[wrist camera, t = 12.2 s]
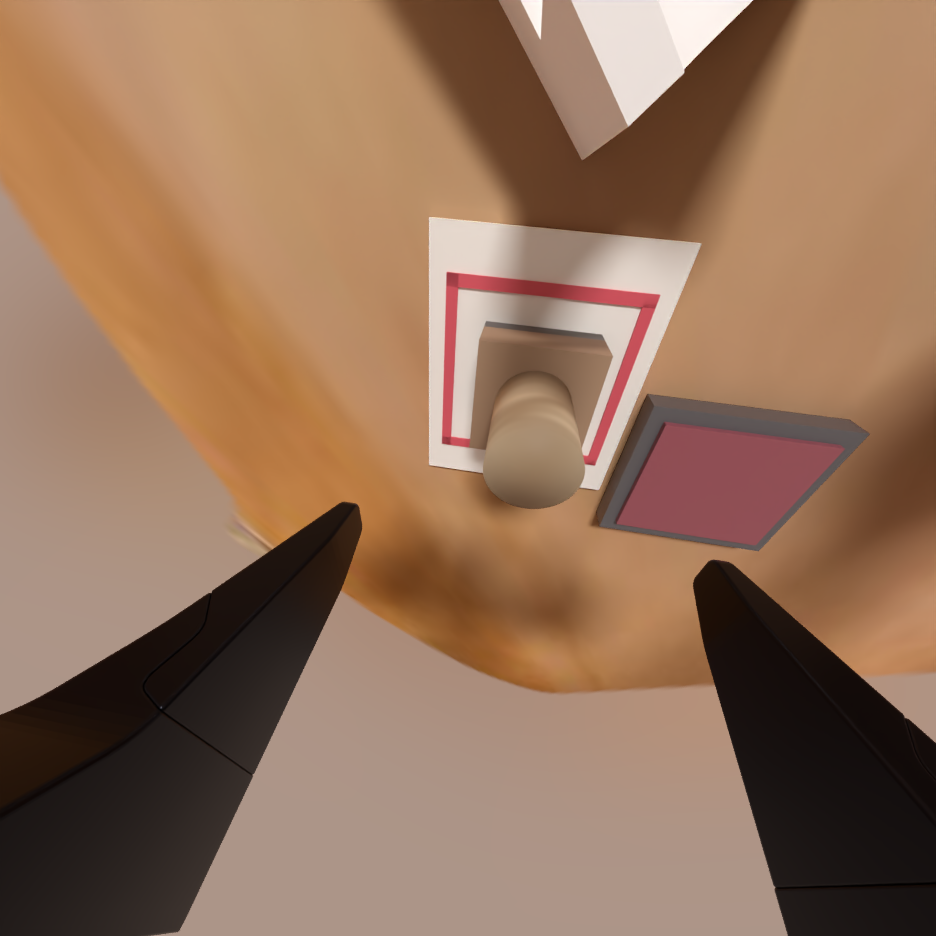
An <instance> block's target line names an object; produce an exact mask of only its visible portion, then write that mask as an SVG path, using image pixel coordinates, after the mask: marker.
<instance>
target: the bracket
mask: <svg viewBox="0 0 936 936" xmlns="http://www.w3.org/2000/svg"><path fill="white" fill-rule="evenodd" d="M752 1H753V0H499V2H500V4H501V6H502V8H503V10H504V12H505V14H506V16H507V17H508V19H509V21H510V23H511V25H512V27H513V29H514V31H515V33H516V35H517V37H518V39H519V41H520V42H521V44H522V46H523V48H524V50H525V52H526V54H527V56H528V58H529V60H530V62H531V64H532V66H533V67H534V69H535V71H536V73H537V75H538V77H539V79H540V81H541V83H542V85H543V87H544V89H545V90H546V92H547V94H548V96H549V98H550V100H551V102H552V104H553V106H554V108H555V110H556V112H557V114H558V115H559V117H560V119H561V121H562V123H563V125H564V127H565V129H566V131H567V133H568V135H569V137H570V139H571V140H572V142H573V144H574V146H575V148H576V150H577V152H578V154H579V156H580V158H581V160H584V159H585V158H586V157H588V156H589V155H591V154H592V153H593V152H595V151H596V150H597V149H599V148H600V147H601V146H603V145H604V144H605V143H607V142H608V141H610V140H611V139H612V138H614V137H615V136H616V135H618V134H619V133H620V132H622V131H623V130H624V129H626V128H627V127H628V126H629V125H631V124H632V123H633V122H634V121H635V120H636V119H637V118H638V117H639V116H640V115H641V114H642V113H643V112H644V111H645V110H646V109H647V108H648V107H649V106H650V105H651V104H652V103H653V102H654V101H656V100H657V99H658V98H659V97H660V96H661V95H662V94H663V93H664V92H665V91H666V90H667V89H668V88H669V87H670V86H671V85H672V84H673V83H674V82H675V81H676V80H677V79H678V78H679V77H681V76H682V75H683V74H684V73H685V72H684V69H685V68H686V67H687V66H688V65H689V64H690V63H691V61H692V60H693V59H694V58H695V57H696V56H697V55H698V54H699V53H700V52H701V51H702V50H703V49H704V48H705V47H706V46H707V45H708V44H709V43H710V42H711V41H712V40H713V39H714V38H715V37H716V36H717V35H718V34H719V33H720V32H721V31H722V30H723V29H724V28H725V27H726V26H727V25H728V24H729V23H730V22H731V21H733V20H734V19H735V18H736V17H737V16H738V15H739V14H740V13H741V12H742V11H743V10H744V9H745V8H746V7H747V6H748V5H749V4H750V3H751V2H752Z"/></svg>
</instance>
